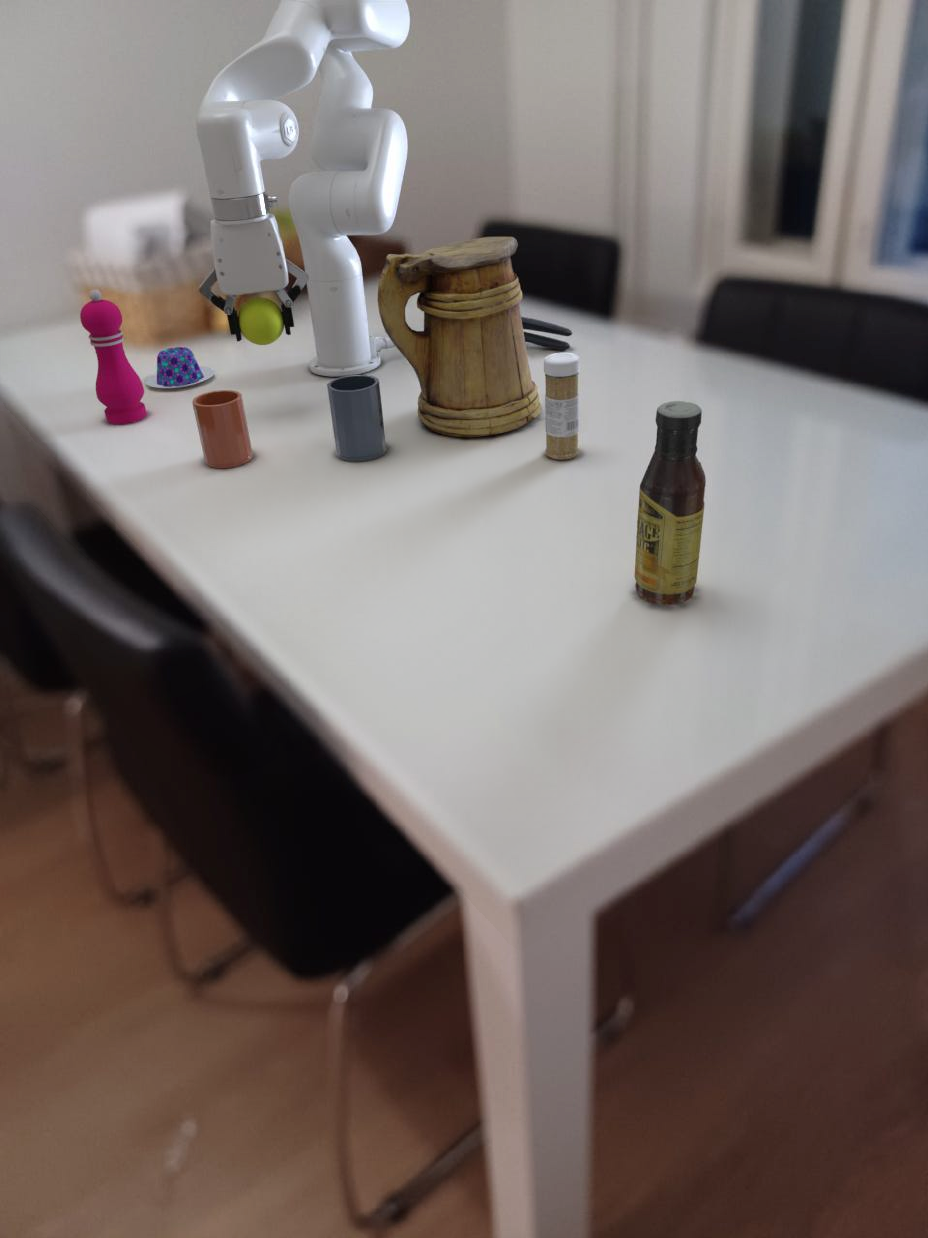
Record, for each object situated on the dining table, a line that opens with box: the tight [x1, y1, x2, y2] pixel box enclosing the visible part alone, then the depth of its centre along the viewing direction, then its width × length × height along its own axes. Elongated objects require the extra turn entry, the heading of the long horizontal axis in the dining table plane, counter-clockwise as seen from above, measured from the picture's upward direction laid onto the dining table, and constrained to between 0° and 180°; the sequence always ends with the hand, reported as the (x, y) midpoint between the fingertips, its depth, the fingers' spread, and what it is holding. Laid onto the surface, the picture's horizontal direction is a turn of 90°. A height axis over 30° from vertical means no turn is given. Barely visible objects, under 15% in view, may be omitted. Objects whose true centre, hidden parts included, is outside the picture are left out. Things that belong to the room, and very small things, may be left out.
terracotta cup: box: [191, 389, 254, 469], centre depth 133 cm, size 7×7×9 cm
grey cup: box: [326, 374, 387, 463], centre depth 132 cm, size 7×7×10 cm
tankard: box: [377, 236, 542, 438], centre depth 137 cm, size 18×24×25 cm
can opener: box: [521, 316, 573, 351], centre depth 172 cm, size 18×7×6 cm, turn 58°
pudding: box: [144, 346, 215, 389], centre depth 167 cm, size 12×12×5 cm
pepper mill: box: [79, 289, 148, 426], centre depth 148 cm, size 7×7×20 cm
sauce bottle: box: [633, 400, 707, 606], centre depth 92 cm, size 7×6×20 cm
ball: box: [237, 296, 285, 346], centre depth 142 cm, size 7×7×7 cm
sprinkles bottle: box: [543, 352, 580, 461], centre depth 126 cm, size 5×5×13 cm
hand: (263, 334), depth 143 cm, fingers closed on ball, 6 cm apart
